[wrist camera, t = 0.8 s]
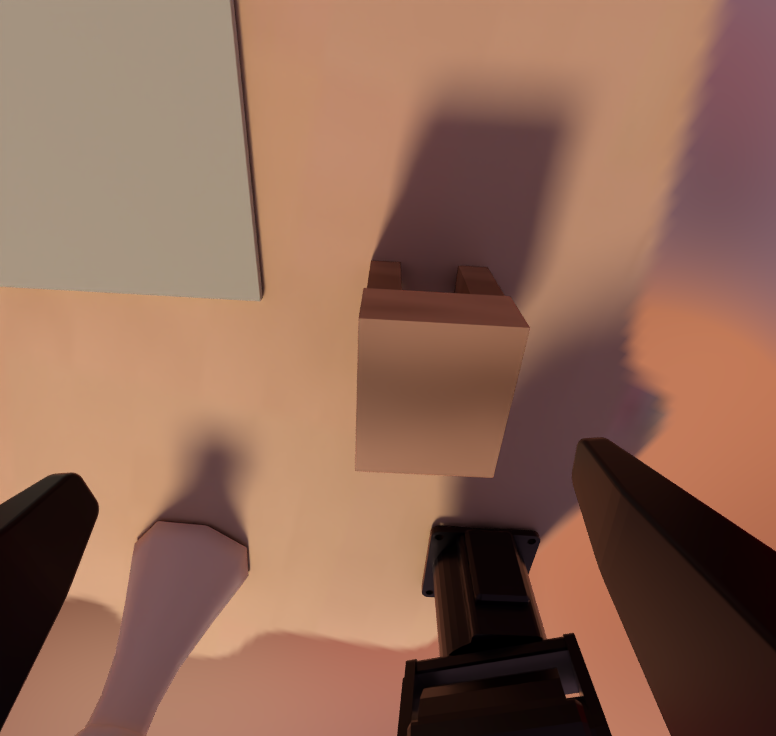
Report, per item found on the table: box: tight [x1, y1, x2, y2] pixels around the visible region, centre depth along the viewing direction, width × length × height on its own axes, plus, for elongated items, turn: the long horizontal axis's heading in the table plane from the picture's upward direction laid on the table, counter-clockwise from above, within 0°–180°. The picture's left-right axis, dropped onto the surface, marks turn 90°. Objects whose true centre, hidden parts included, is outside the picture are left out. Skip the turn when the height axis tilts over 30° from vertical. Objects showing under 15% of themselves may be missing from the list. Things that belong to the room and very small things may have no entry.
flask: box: [75, 521, 248, 736], centre depth 23 cm, size 7×7×10 cm
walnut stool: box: [355, 261, 530, 478], centre depth 17 cm, size 6×5×6 cm
